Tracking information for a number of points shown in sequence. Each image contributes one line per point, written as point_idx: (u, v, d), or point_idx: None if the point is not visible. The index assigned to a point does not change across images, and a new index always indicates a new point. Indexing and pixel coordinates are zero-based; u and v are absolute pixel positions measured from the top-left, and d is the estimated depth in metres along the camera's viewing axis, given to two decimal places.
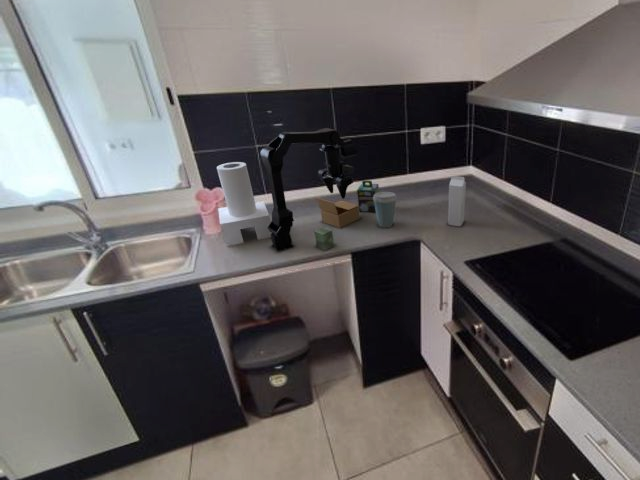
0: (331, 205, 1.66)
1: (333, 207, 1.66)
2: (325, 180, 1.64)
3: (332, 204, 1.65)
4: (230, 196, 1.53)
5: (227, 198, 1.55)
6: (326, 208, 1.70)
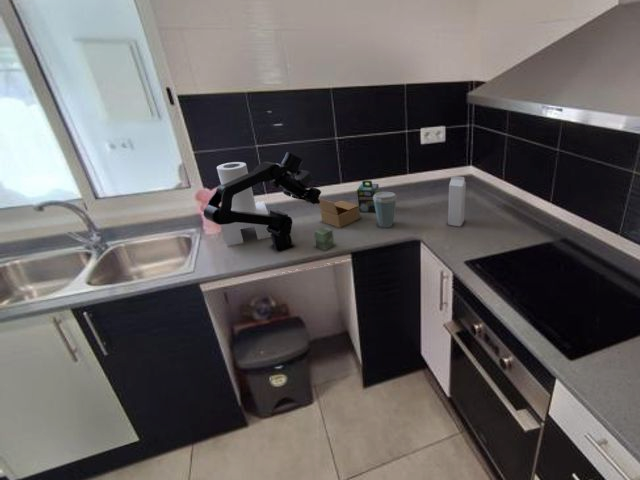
0: (331, 205, 1.66)
1: (333, 207, 1.66)
2: (297, 197, 1.59)
3: (332, 204, 1.65)
4: None
5: None
6: (326, 208, 1.70)
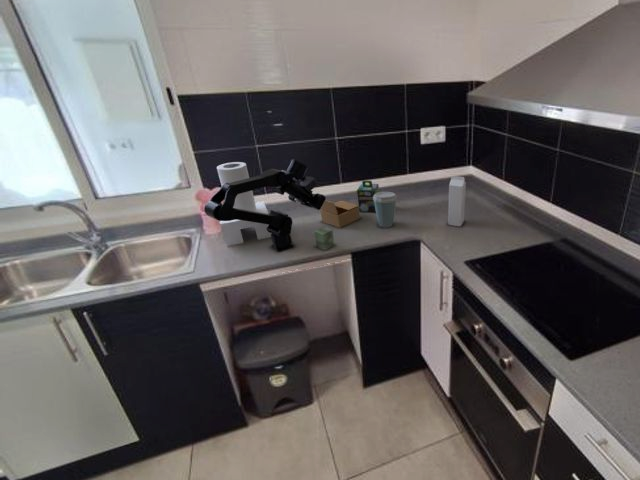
0: (331, 205, 1.66)
1: (333, 207, 1.66)
2: (306, 204, 1.60)
3: (332, 204, 1.65)
4: None
5: None
6: (326, 208, 1.70)
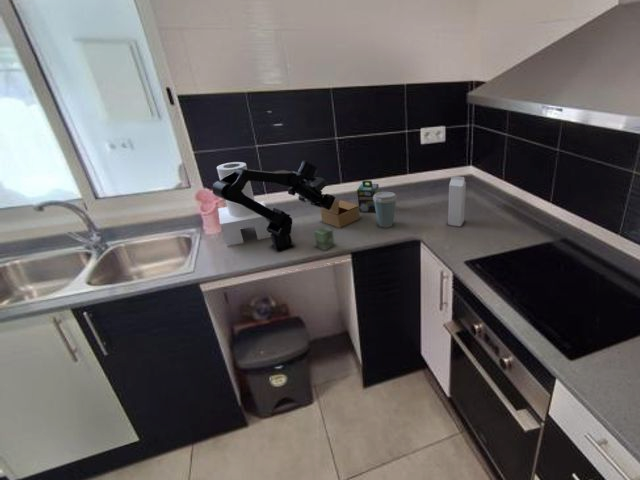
0: (334, 203, 1.67)
1: (336, 206, 1.67)
2: (316, 204, 1.65)
3: (336, 202, 1.66)
4: None
5: None
6: None
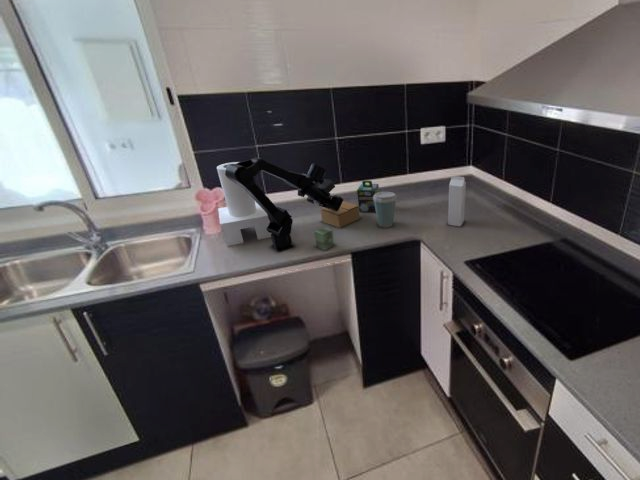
0: (342, 210, 1.72)
1: (342, 211, 1.71)
2: (324, 205, 1.68)
3: (345, 210, 1.72)
4: (230, 196, 1.53)
5: (227, 198, 1.55)
6: (330, 210, 1.72)
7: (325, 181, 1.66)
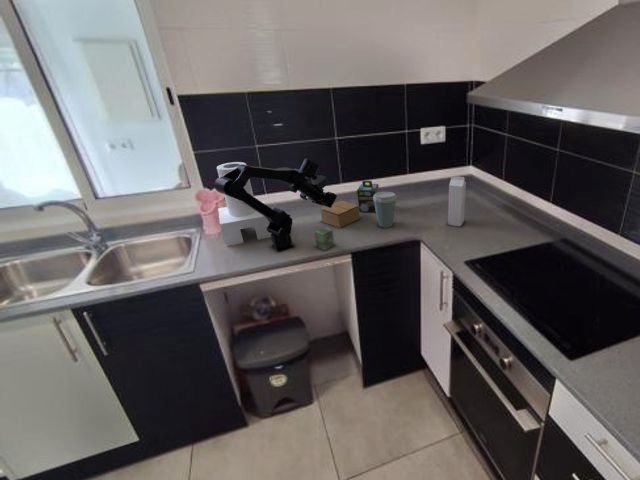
0: (342, 210, 1.72)
1: (342, 211, 1.71)
2: (317, 202, 1.65)
3: (345, 210, 1.72)
4: None
5: (227, 198, 1.55)
6: (330, 210, 1.72)
7: (318, 177, 1.62)
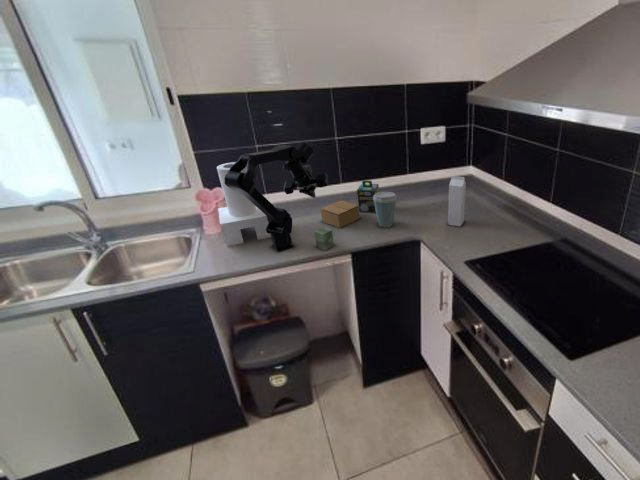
0: (342, 210, 1.72)
1: (342, 211, 1.71)
2: (306, 190, 1.62)
3: (345, 210, 1.72)
4: (230, 196, 1.53)
5: (227, 198, 1.55)
6: (330, 210, 1.72)
7: None
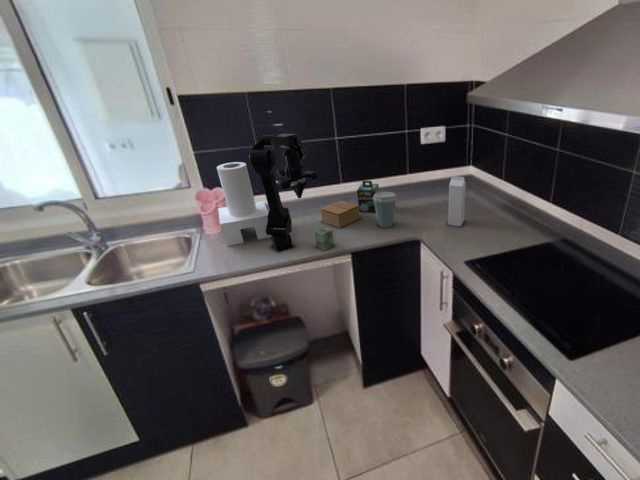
0: (342, 210, 1.72)
1: (342, 211, 1.71)
2: None
3: (345, 210, 1.72)
4: (230, 196, 1.53)
5: (227, 198, 1.55)
6: (330, 210, 1.72)
7: None
